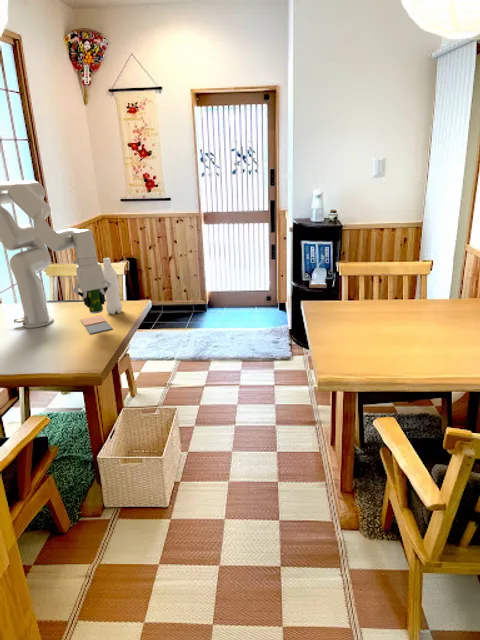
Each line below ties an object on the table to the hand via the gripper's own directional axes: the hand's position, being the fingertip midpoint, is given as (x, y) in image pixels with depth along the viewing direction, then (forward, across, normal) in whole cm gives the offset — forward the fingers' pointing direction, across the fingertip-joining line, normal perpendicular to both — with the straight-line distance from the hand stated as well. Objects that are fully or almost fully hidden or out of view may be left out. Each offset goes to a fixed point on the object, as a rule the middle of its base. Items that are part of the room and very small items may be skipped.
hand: (95, 304), depth 189 cm
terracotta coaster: (+10, 0, +11) cm, 15 cm away
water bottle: (+11, +11, +17) cm, 23 cm away
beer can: (+3, 0, 0) cm, 3 cm away
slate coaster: (+11, 0, 0) cm, 11 cm away
